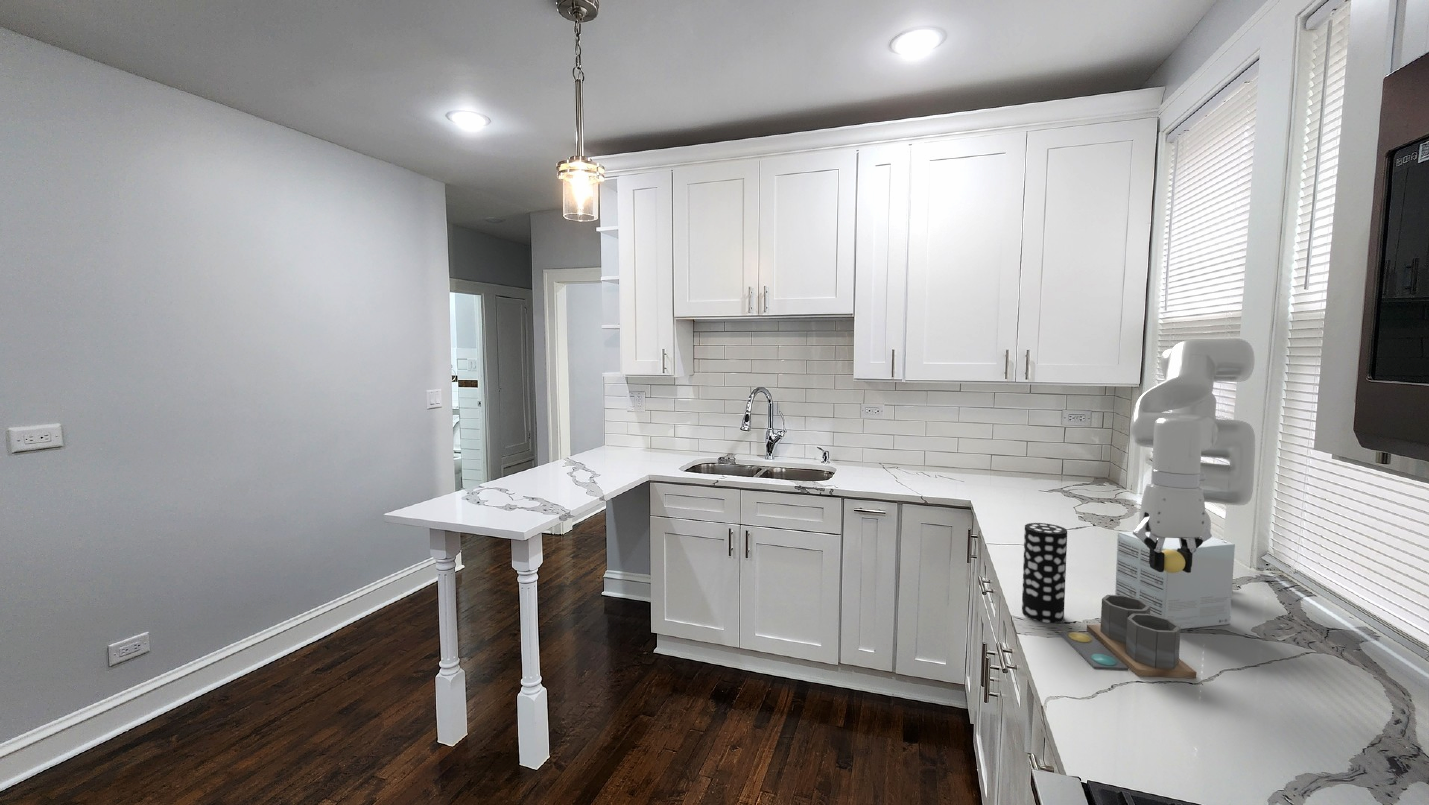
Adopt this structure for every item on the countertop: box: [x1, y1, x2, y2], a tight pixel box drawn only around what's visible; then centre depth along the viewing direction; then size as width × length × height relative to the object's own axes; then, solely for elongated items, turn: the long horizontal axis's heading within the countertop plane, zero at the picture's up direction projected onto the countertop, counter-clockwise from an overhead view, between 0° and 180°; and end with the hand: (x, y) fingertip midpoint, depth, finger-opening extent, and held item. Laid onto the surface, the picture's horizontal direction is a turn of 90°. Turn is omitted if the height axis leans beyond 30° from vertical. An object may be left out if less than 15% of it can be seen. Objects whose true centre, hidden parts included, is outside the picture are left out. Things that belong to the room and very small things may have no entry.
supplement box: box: [1114, 530, 1236, 630], centre depth 132 cm, size 17×13×18 cm
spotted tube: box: [1021, 522, 1068, 624], centre depth 133 cm, size 8×8×20 cm
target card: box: [1058, 631, 1129, 671], centre depth 118 cm, size 6×14×1 cm, turn 174°
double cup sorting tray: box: [1086, 594, 1197, 679], centre depth 117 cm, size 10×18×8 cm, turn 174°
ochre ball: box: [1162, 550, 1185, 573], centre depth 118 cm, size 4×4×4 cm
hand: (1169, 569), depth 119 cm, fingers closed on ochre ball, 4 cm apart
